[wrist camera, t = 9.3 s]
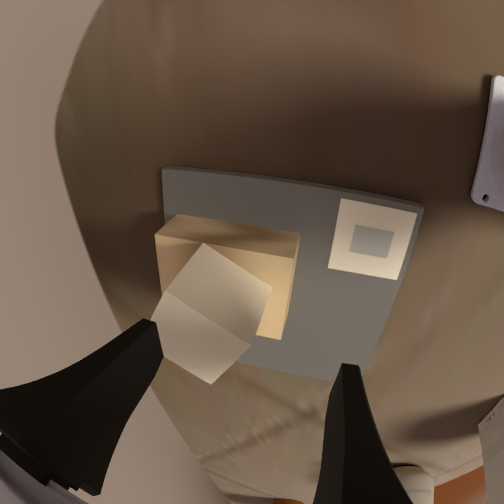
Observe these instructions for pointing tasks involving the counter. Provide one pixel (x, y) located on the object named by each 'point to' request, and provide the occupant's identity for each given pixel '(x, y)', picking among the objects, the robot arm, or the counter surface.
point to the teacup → (416, 484)
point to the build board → (313, 259)
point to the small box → (493, 452)
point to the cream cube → (210, 314)
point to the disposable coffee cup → (286, 501)
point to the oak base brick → (235, 258)
